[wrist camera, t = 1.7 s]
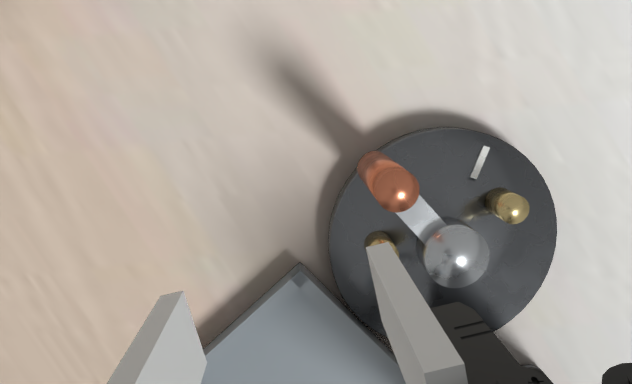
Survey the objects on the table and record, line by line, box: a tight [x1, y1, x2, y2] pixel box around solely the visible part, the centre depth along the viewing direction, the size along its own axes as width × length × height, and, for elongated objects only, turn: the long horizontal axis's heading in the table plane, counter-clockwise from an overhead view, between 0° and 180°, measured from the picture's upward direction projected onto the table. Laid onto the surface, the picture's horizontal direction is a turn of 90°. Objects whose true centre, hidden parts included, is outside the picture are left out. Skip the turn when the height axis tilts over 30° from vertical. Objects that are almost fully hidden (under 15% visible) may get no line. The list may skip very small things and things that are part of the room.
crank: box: [357, 151, 489, 288], centre depth 29 cm, size 11×4×7 cm, turn 43°
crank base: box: [328, 127, 557, 337], centre depth 33 cm, size 17×17×4 cm
